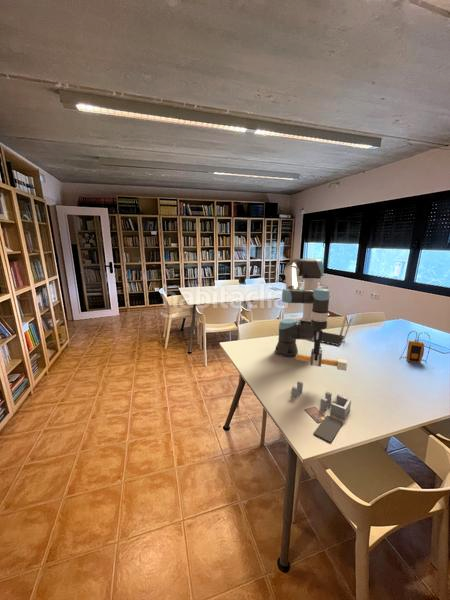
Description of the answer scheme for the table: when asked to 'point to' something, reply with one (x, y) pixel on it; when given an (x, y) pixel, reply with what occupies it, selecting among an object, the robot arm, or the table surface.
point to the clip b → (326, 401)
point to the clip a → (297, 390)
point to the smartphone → (328, 429)
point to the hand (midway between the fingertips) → (315, 363)
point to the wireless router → (335, 335)
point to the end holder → (341, 407)
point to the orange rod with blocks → (324, 361)
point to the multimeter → (415, 350)
